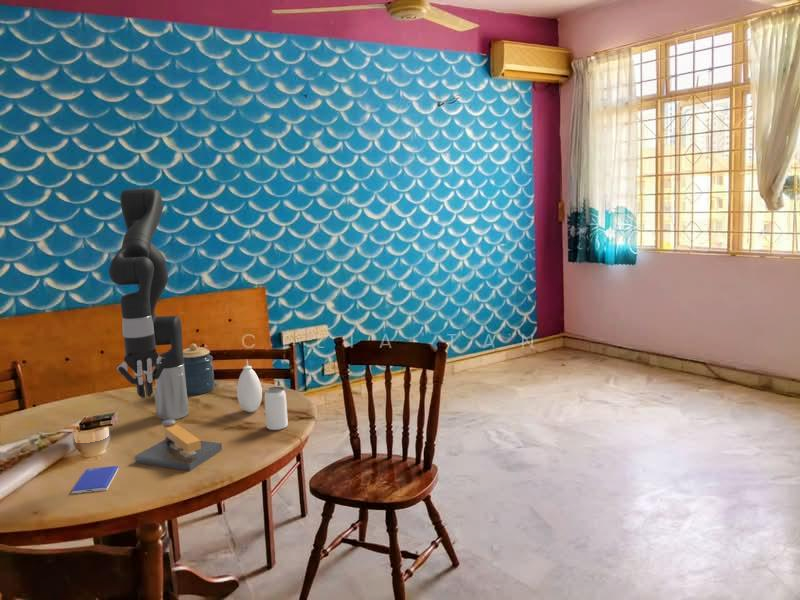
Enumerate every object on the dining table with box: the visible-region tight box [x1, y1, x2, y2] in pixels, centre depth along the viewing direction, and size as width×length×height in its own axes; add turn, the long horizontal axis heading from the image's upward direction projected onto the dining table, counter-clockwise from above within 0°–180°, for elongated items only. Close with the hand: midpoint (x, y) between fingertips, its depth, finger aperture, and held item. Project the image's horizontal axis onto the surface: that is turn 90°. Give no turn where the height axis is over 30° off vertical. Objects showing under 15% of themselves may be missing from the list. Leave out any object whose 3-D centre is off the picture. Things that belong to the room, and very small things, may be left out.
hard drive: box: [71, 465, 119, 494], centre depth 166 cm, size 2×8×12 cm
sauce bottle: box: [236, 359, 263, 413], centre depth 212 cm, size 8×8×18 cm
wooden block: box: [161, 419, 201, 453], centre depth 180 cm, size 20×4×5 cm, turn 40°
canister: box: [183, 343, 216, 396], centre depth 238 cm, size 13×13×18 cm
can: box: [264, 386, 289, 431], centre depth 198 cm, size 6×6×12 cm
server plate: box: [134, 438, 223, 472], centre depth 179 cm, size 18×14×2 cm
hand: (145, 396), depth 172 cm, fingers closed
